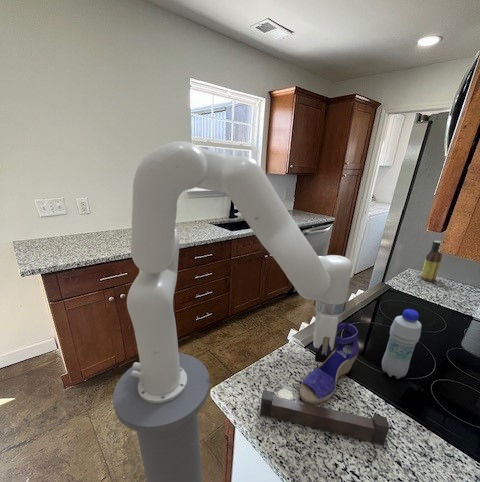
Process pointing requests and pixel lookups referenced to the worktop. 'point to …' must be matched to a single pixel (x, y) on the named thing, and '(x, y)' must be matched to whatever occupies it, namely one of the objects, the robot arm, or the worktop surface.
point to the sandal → (331, 368)
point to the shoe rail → (325, 418)
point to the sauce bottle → (432, 263)
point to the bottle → (401, 343)
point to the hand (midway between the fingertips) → (320, 360)
